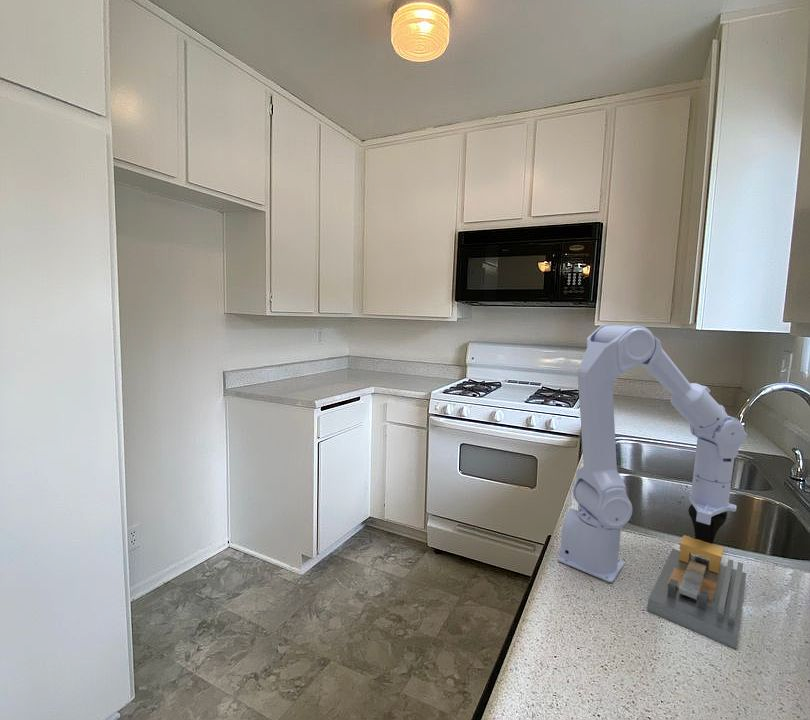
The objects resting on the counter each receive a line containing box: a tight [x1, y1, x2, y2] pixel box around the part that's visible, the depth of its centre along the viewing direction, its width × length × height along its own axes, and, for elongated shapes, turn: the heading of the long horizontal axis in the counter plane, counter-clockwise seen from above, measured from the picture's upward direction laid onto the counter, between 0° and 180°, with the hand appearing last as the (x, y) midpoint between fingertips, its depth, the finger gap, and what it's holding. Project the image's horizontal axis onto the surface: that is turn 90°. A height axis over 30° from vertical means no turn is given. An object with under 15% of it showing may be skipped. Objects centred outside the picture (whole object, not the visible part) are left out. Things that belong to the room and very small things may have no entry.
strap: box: [678, 560, 706, 600], centre depth 70 cm, size 2×11×1 cm, turn 138°
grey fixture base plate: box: [647, 548, 747, 650], centre depth 70 cm, size 11×20×4 cm, turn 138°
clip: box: [679, 534, 724, 573], centre depth 76 cm, size 6×4×3 cm, turn 48°
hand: (703, 546), depth 80 cm, fingers closed
